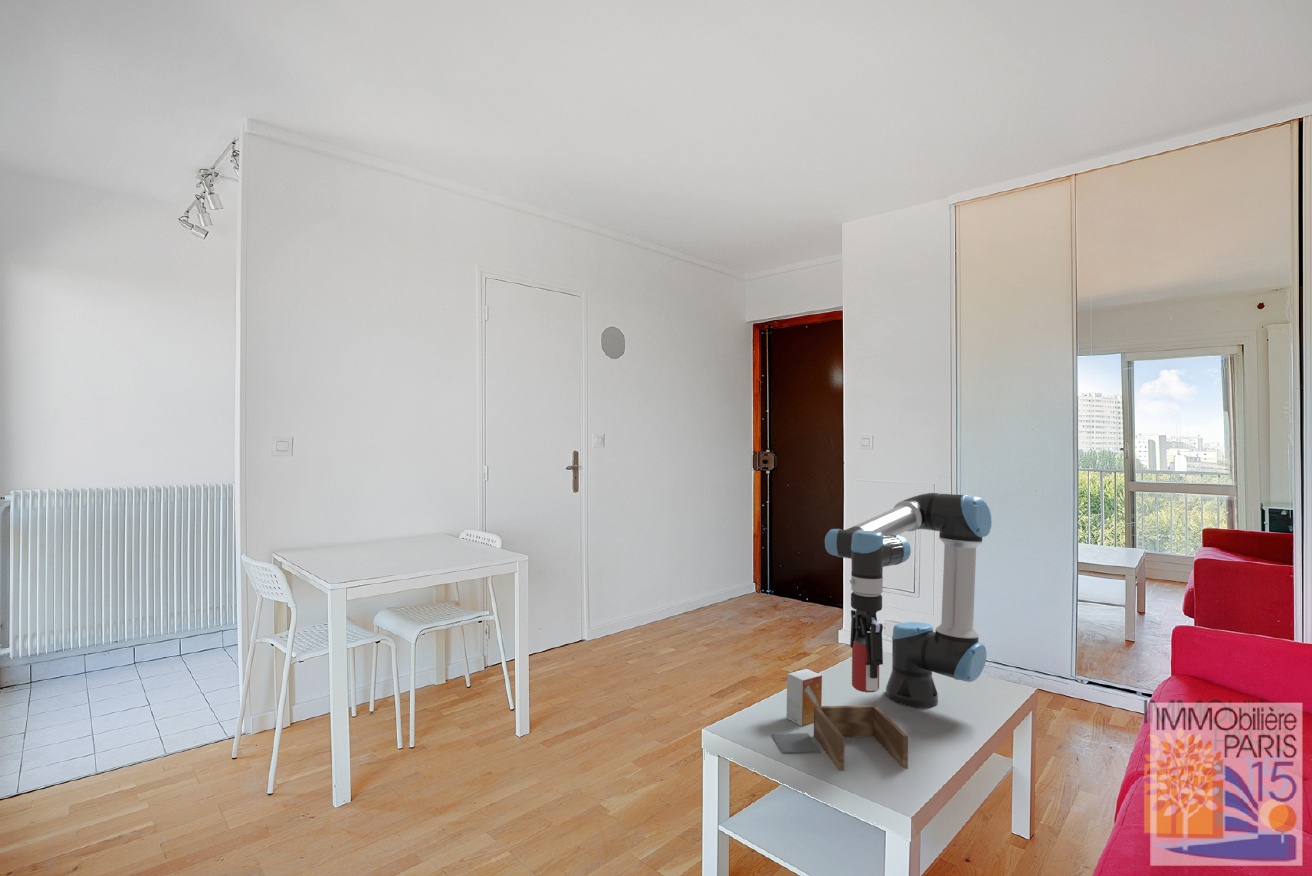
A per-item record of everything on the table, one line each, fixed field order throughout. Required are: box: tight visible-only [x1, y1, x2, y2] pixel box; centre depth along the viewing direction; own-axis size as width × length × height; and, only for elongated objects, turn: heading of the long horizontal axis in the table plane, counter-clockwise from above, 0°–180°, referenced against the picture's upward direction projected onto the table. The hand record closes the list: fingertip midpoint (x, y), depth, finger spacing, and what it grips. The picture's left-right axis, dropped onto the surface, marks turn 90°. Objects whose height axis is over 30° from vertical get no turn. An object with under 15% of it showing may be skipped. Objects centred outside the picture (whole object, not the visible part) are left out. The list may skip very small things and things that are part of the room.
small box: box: [785, 668, 823, 727], centre depth 182 cm, size 8×6×13 cm
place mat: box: [771, 732, 822, 755], centre depth 167 cm, size 10×10×1 cm
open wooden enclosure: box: [813, 704, 909, 772], centre depth 163 cm, size 17×18×8 cm
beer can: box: [851, 637, 880, 693], centre depth 159 cm, size 7×7×12 cm
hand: (865, 684), depth 159 cm, fingers closed on beer can, 7 cm apart
